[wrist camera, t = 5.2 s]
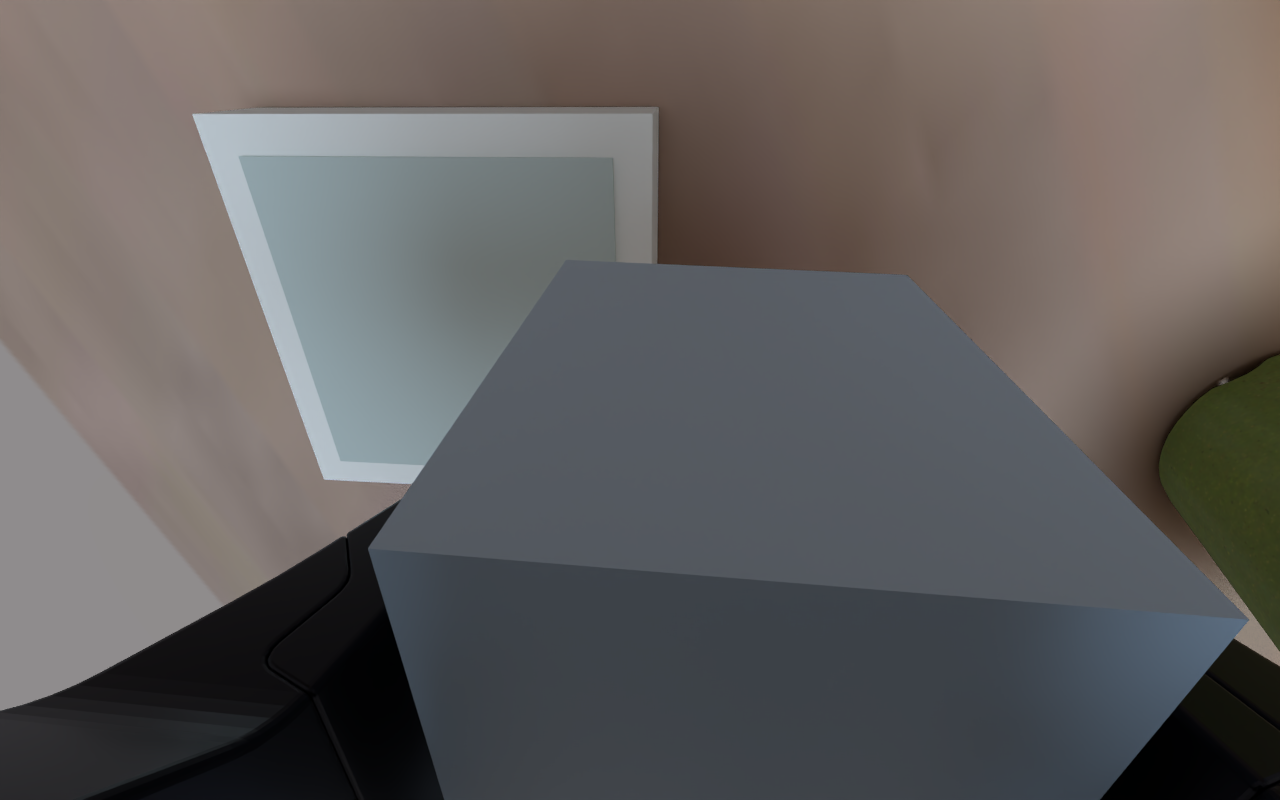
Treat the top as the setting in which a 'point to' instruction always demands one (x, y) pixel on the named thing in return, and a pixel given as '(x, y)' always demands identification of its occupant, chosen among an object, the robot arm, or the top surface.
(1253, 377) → the plant pot
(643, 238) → the base
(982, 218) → the top surface
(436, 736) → the block
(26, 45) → the top surface
